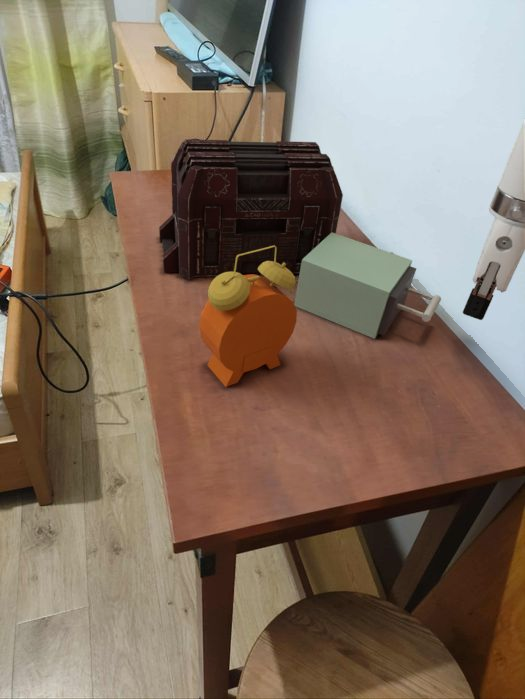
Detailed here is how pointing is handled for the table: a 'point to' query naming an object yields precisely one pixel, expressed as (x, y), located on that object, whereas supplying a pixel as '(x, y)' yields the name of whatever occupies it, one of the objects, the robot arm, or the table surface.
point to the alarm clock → (247, 319)
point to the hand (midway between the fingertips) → (473, 314)
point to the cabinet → (349, 282)
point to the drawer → (398, 300)
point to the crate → (247, 205)
